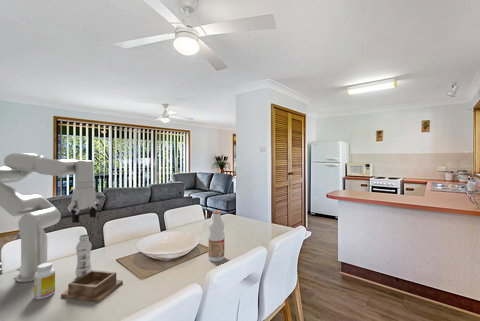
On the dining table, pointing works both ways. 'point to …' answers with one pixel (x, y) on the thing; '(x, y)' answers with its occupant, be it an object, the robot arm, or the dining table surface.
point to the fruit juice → (216, 238)
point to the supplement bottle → (44, 281)
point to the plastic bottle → (83, 256)
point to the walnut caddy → (92, 286)
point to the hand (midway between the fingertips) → (84, 219)
